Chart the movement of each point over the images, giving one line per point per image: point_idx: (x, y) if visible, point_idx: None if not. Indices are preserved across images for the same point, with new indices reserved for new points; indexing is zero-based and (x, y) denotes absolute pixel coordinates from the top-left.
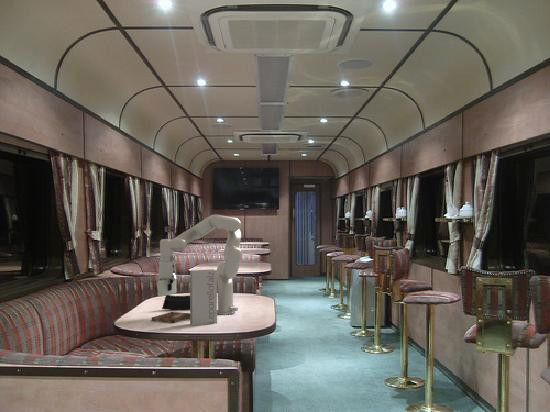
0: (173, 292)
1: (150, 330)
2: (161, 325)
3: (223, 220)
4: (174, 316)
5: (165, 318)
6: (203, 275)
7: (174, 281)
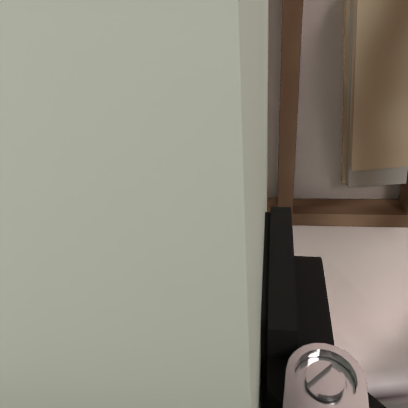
0: (267, 84)
1: (372, 376)
2: (364, 286)
3: None
4: (388, 164)
5: (330, 219)
6: None
7: (255, 153)
